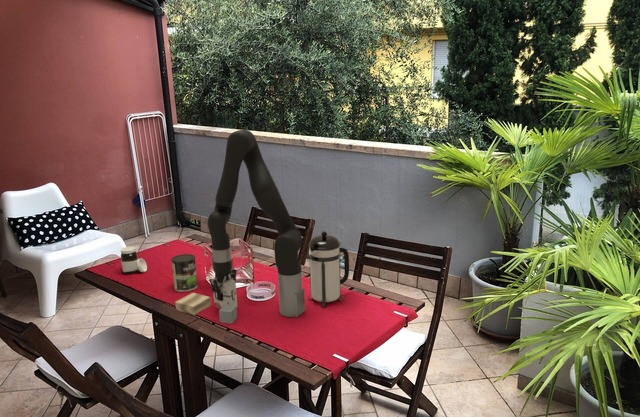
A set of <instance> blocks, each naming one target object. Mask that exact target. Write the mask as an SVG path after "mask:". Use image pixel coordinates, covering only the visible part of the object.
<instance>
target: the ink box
mask: <svg viewBox="0 0 640 417" xmlns="http://www.w3.org/2000/svg"><path fill="white" fill-rule="evenodd" d="M236 283H237V282H235V281H234V280H233V279H232V280H228V281H226V282H225V283H224V284H223V287H222V288H223V290H222V292H223V301H219V300H218V299H217V293H216V292H213V291H212V294H213V304H214V308H215V309H218V310H220V309H221V308H222V307H223V306H224V305H228V306H236V309H237V308H238V296H237V294H238V293H237V285H236ZM218 284H220V285H221V284H222V283H219V282H218ZM219 289H220V286H219Z"/></svg>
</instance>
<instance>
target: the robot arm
mask: <svg viewBox="0 0 640 417" xmlns="http://www.w3.org/2000/svg"><path fill="white" fill-rule="evenodd" d="M243 163H244V165H245V167H246V169H247V173H248V179H249V180H248V181H249V185H250V189H251V192H252V195H253V196H254V199H255V200H256V203H257V205H258V206H259V208H260V209H261V211H263V213H264V214H265V215H266V216H268V217H269V219H270V220H271V221H272V223H273V225H274V226H275V228H276V229H275V230H276V231H277V233H278V236H277V238H276V239H274V248H273V249H274V250H273V251H274V252H273V253H274V260H275V266H276V269H277V280H278V299H279V300H278V302H279V303H278V305H279V313H280V315H281V316H284V317H287V318H288V317H289V318H290V317H291V318H293V317H295V318H298V317H299V316H300V315H302V314H303V313H304V312H306V300H305V298H306V297H305V289H304V288H303V278H302V276H303V275H302V264H301V262H299V253H298V251H299V250H300V249H301V248H302V246H303V236H302V234H301V233H300V230H298V228H297V226H296V224H295V222H294V221H293V219H292V218H291V216H290V214H289V211H288V209H287V207H286V205H285V204H286V203H285V202H284V201H283V199H282V196H281V193H280V191H279V188H278V187H277V184H276V183H275V181H274V179H273V176H272V174H271V173H270V171H269V168H268V167H267V165H266V162H265V161H264V158H263V155H262V153H261V150H260V147H259V144H258V141H257V139H256V136H255V134H253V132H252V131H250V130H247V129H238V130H235V131H233V132H232V133H230V134H229V135H228V137H227V140H226V148H225V157H224V163H223V168H222V173H221V178H220V181H219V184H218V188H217V191H216V194H215V205H214V209H213V211H212V212H211V213H210V214H209V216H208V217H207V228H208V231H209V234H210V237H211V250H212V251H211V255H212V256H211V259H212V269H213V271H214V273H215V275H214V277H213V278H210V279H209V282H210V287H211V290H212V293H213V292H216V293H217V299H218V300H219V301H223V292H222V290H223V288H222V287H223V284H224V283H225V282H226V281H228V280H234V281H235V282H236V281H237V269H236V268H233V258H232V257H233V256H232V249H231V241H230V234H229V233H228V232H227V226H226V225H227V224H228V222H229V221H230V218H231V215H232V210H233V204H234V202H235V198H236V194H237V191H238V186H239V178H240V177H239V175H240V169H241V167H242V164H243ZM218 282H219V283H222V284H221V285H220V284H218ZM236 283H237V282H236ZM219 286H220V289H219Z"/></svg>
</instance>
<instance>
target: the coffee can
mask: <svg viewBox="0 0 640 417" xmlns="http://www.w3.org/2000/svg"><path fill="white" fill-rule="evenodd" d="M170 261H171V268H172V276H173V285H174V290H175V291H176V292H181V293H183V292H185V293H187V292H190V291H193V290H196V289H197V288H198V287H199V285H198V278H197V275H198V274H197V267H196V265H197V264H196V256H195V255H194V254H190V253H184V254H178V255H175V256H173V257H172V258H171V259H170Z"/></svg>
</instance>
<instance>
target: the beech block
mask: <svg viewBox="0 0 640 417" xmlns="http://www.w3.org/2000/svg"><path fill="white" fill-rule="evenodd" d="M174 303H175V310H176V311H178V312H182V313H184V314H189V315H192V316H195V315H198V314H199V313H200V312H203V311H204V310H206V309H207V308H209V307H211V306H212V297H211V296H207V295H204V294H200V293H195V292H191V293H190V294H187V295H186V296H184V297H181V298H180V299H178V300H176V301H174Z"/></svg>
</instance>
